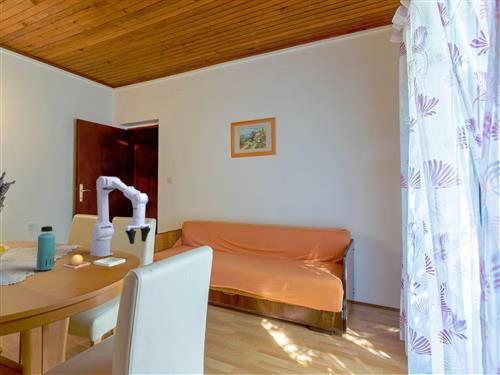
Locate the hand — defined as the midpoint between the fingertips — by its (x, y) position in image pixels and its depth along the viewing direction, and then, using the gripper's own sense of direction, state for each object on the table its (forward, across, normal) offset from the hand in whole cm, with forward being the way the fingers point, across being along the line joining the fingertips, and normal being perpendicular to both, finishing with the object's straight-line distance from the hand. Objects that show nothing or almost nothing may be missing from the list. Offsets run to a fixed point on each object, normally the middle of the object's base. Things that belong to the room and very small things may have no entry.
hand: (137, 242), depth 141 cm
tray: (+10, -10, +8) cm, 16 cm away
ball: (+10, -21, +17) cm, 28 cm away
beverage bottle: (+10, -32, +20) cm, 40 cm away
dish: (+10, -21, +17) cm, 29 cm away
